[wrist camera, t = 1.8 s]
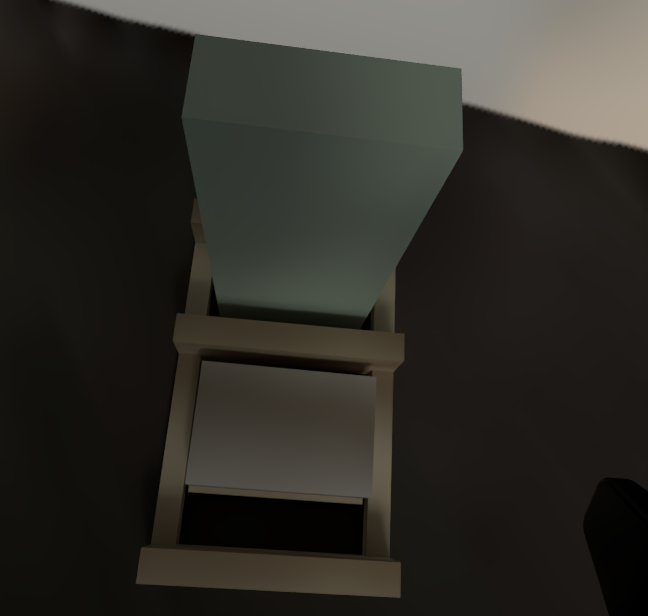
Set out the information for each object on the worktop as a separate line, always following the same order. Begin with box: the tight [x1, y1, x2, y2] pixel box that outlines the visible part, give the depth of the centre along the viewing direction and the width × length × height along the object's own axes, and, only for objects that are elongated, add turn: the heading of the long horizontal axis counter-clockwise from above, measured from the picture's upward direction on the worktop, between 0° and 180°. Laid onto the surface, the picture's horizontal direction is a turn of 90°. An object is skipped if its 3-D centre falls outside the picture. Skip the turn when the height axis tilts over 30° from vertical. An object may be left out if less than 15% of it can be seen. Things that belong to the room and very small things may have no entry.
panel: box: [182, 34, 463, 330], centre depth 18 cm, size 2×6×12 cm, turn 87°
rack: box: [136, 198, 404, 598], centre depth 21 cm, size 13×8×2 cm, turn 176°
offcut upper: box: [185, 361, 376, 499], centre depth 20 cm, size 4×6×2 cm, turn 86°
